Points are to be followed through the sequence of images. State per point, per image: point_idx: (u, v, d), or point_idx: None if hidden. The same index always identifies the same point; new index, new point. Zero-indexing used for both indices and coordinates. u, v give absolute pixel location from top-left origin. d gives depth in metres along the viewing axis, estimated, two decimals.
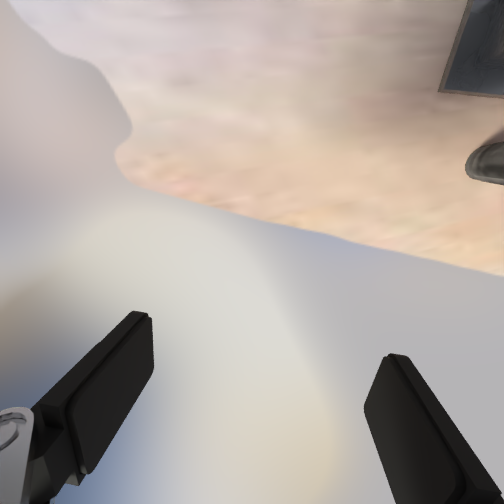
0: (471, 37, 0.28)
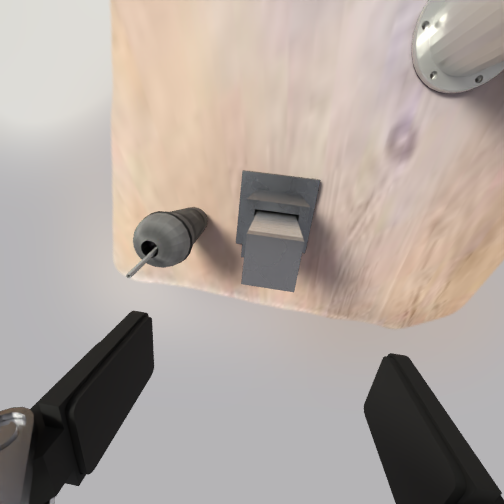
0: (275, 182, 0.36)
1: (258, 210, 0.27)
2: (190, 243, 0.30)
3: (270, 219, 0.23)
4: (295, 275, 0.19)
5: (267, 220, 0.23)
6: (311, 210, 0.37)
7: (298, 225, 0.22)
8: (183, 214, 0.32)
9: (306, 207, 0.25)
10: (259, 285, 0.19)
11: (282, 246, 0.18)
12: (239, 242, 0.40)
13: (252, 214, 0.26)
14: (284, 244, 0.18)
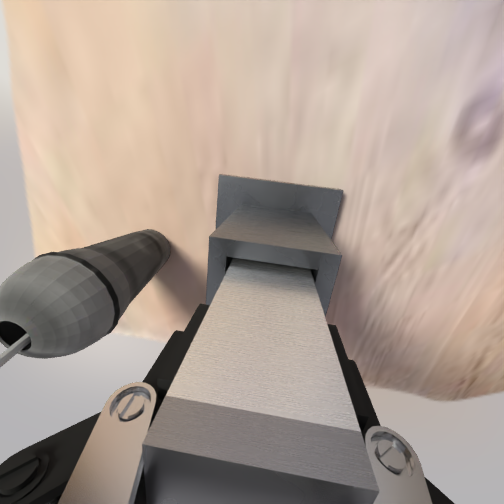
0: (271, 193, 0.23)
1: None
2: (114, 309, 0.16)
3: (255, 293, 0.10)
4: None
5: (247, 300, 0.09)
6: (327, 237, 0.24)
7: (324, 317, 0.09)
8: (112, 250, 0.19)
9: (333, 255, 0.12)
10: None
11: (286, 493, 0.04)
12: None
13: (222, 266, 0.13)
14: (294, 489, 0.04)
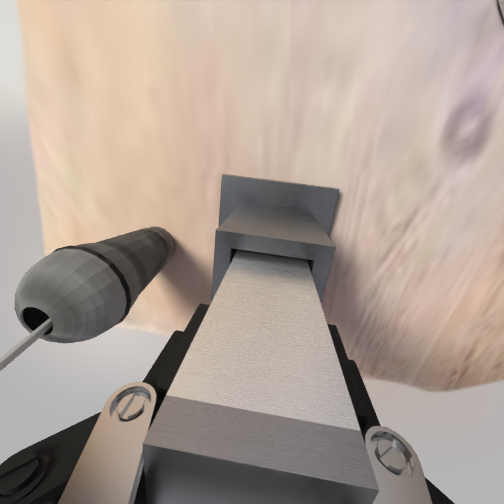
0: (271, 192, 0.24)
1: (235, 256, 0.14)
2: (126, 298, 0.18)
3: (255, 293, 0.10)
4: None
5: (247, 300, 0.09)
6: None
7: (323, 317, 0.09)
8: (123, 245, 0.20)
9: (328, 247, 0.13)
10: None
11: (286, 492, 0.04)
12: None
13: (227, 257, 0.14)
14: (294, 488, 0.04)
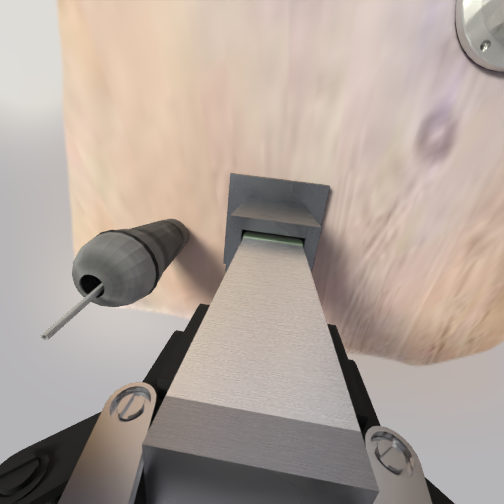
0: (272, 188, 0.28)
1: (235, 256, 0.14)
2: (156, 273, 0.22)
3: (255, 293, 0.10)
4: None
5: (247, 300, 0.09)
6: None
7: (323, 317, 0.09)
8: (150, 231, 0.24)
9: (316, 228, 0.18)
10: None
11: (286, 493, 0.04)
12: None
13: (238, 237, 0.18)
14: (294, 489, 0.04)
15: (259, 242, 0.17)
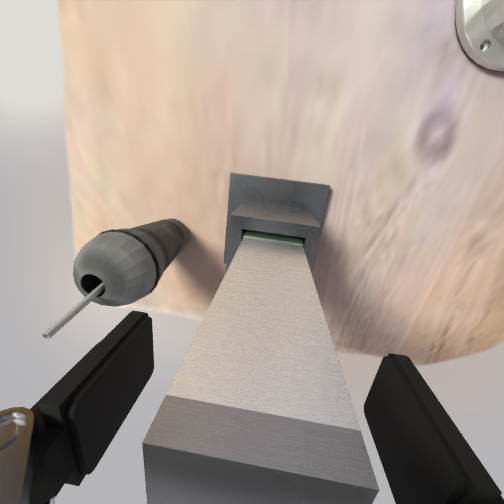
0: (272, 188, 0.28)
1: (235, 255, 0.14)
2: (156, 272, 0.22)
3: (255, 293, 0.10)
4: None
5: (247, 300, 0.09)
6: None
7: (323, 317, 0.09)
8: (150, 231, 0.24)
9: (316, 227, 0.18)
10: None
11: (286, 492, 0.04)
12: None
13: (238, 236, 0.19)
14: (294, 488, 0.04)
15: (259, 242, 0.17)
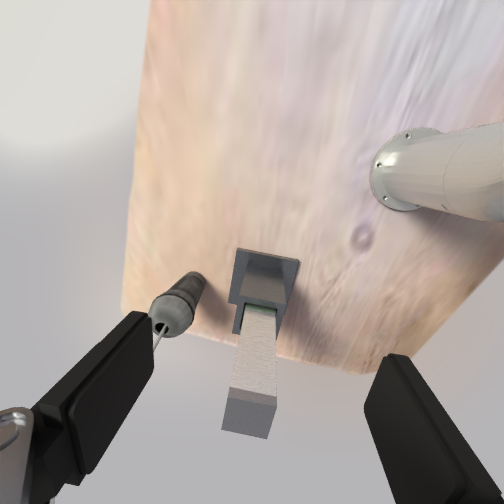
0: (263, 260, 0.45)
1: (242, 325, 0.30)
2: (192, 318, 0.38)
3: (251, 350, 0.26)
4: (268, 428, 0.21)
5: (248, 353, 0.26)
6: (290, 283, 0.46)
7: (275, 361, 0.25)
8: (187, 289, 0.40)
9: (283, 304, 0.34)
10: (237, 431, 0.22)
11: (258, 408, 0.21)
12: (231, 302, 0.48)
13: (242, 305, 0.35)
14: (259, 407, 0.21)
15: (253, 312, 0.33)
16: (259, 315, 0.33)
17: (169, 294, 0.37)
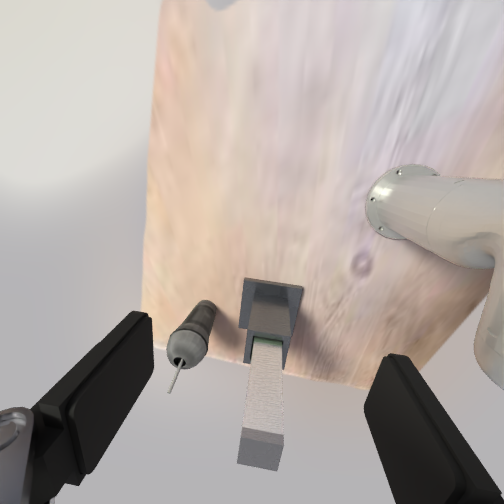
0: (269, 288, 0.48)
1: (251, 361, 0.33)
2: (206, 349, 0.41)
3: (260, 387, 0.29)
4: (277, 462, 0.25)
5: (258, 391, 0.29)
6: (296, 308, 0.49)
7: (282, 398, 0.28)
8: (200, 321, 0.44)
9: (288, 336, 0.37)
10: (250, 465, 0.25)
11: (267, 446, 0.24)
12: (241, 327, 0.52)
13: (251, 338, 0.38)
14: (269, 445, 0.24)
15: (261, 346, 0.36)
16: (267, 349, 0.36)
17: (184, 329, 0.40)
